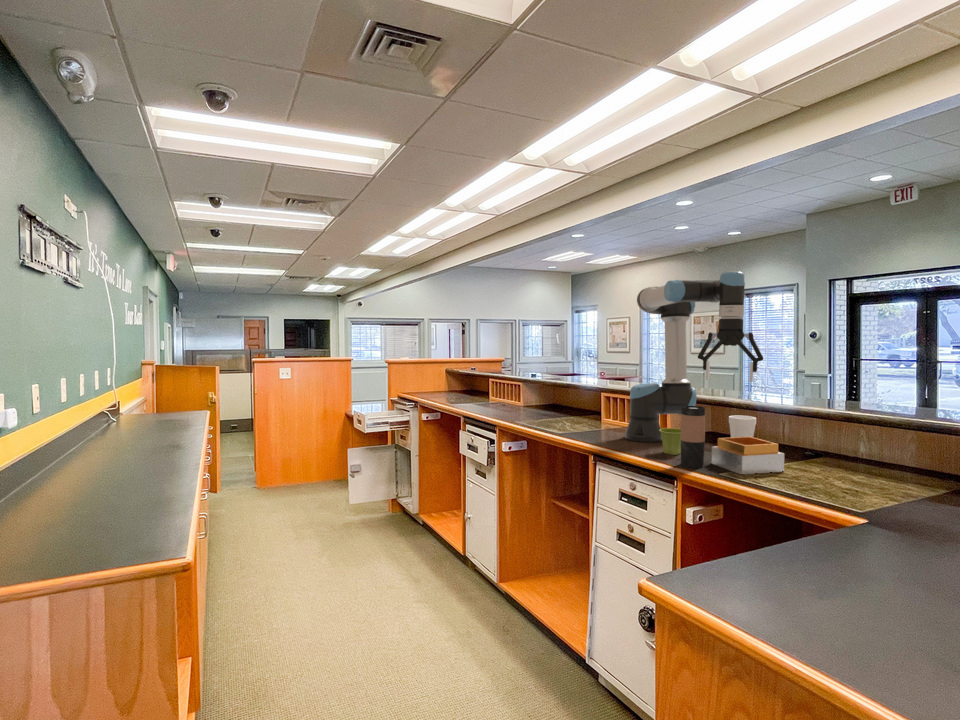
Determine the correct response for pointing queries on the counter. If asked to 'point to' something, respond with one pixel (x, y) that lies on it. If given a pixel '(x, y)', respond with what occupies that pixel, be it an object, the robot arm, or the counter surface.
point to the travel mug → (692, 436)
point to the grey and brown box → (747, 455)
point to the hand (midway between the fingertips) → (729, 380)
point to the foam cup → (742, 426)
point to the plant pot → (671, 440)
